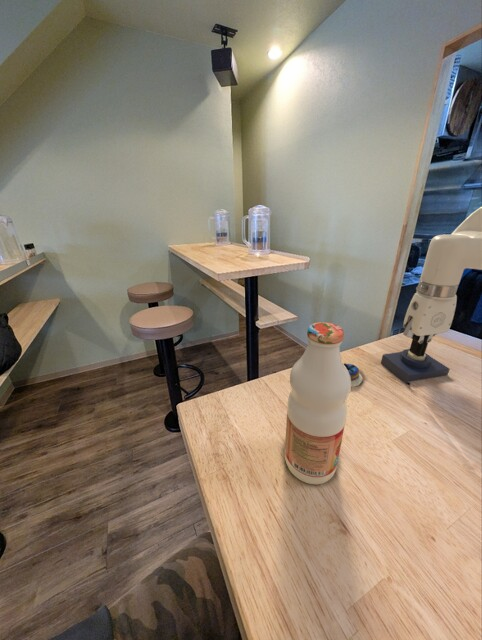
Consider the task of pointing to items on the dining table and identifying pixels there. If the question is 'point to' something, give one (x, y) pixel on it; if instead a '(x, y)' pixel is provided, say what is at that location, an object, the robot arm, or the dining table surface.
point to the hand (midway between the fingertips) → (416, 353)
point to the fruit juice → (317, 406)
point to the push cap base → (413, 367)
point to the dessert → (354, 374)
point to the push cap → (416, 356)
